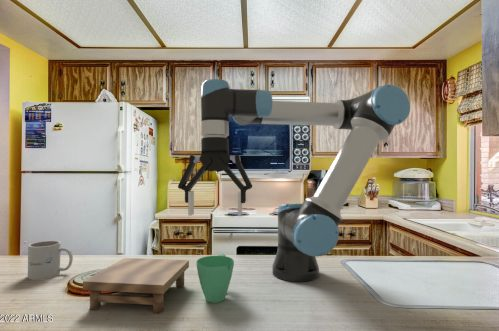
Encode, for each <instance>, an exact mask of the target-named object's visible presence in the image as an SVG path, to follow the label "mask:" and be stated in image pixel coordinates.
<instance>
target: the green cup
mask: <svg viewBox="0 0 499 331" xmlns="http://www.w3.org/2000/svg"><path fill="white" fill-rule="evenodd" d="M234 263H235V260H234V259H233V258H232V257H230V256H227V255H226V254H224V253H220V254H218V255H208V256H203V257H201V258H198V259H197V260H196V271H197V276H198V281H199V283H200V288H201V291H202V293H203V294H202V295H203V296H204V299H205V301H206V302H208V303H213V304H215V303H216V304H217V303H221V302H223V301H224V300H225V298H226V297H227V296H226V295H227V293H228V290H229V287H230V283H231V280H232V276H233V271H234V270H233V269H234V267H235V266H234Z"/></svg>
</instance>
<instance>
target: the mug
mask: <svg viewBox="0 0 499 331" xmlns="http://www.w3.org/2000/svg"><path fill="white" fill-rule="evenodd" d="M61 243H62V242H61V241H60V240H44V241H36V242H33V243H29V244H28V245H27V279H28V278H29V279H28V280H30V279H32V280H31V281H43V280H48V279H52V278H55V277H57V276H59V275H60V274H61V272H64V271H65V272H66V271H67V270H69V269H70V268H71V266H72V264H73V259H74V258H73V256H74V255H73V253H72V250H71V249H70V248H68V247H61V245H62V244H61ZM61 252H66V253H67V254H68V257H69V259H68V260H69V262H68V265H66V266H65V267H62V266H61ZM42 279H43V280H42Z"/></svg>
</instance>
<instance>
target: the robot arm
mask: <svg viewBox="0 0 499 331" xmlns="http://www.w3.org/2000/svg"><path fill="white" fill-rule="evenodd" d="M229 85H230V84H229V82H228V81H226V80H224V79H219V78H211V79H210V78H209V79H206V80H204V81H203V82H202V84H201V90H200V91H201V92H200V93H201V94H200V95H201V96H200V104H201V106H200V107H201V108H200V111H201V113H200V114H201V116H200V118H201V123H200V124H201V126H200V127H201V128H200V130H201V133H200V136H201V137H202V138H201V143H200V144H201V145H200V148H201V150H200V152H201V153H200V156H199V155H193V154H190V155H189V159H188V160H189V161H188V164H187V167H186V169H185V170H184V172H183V175H182V177H181V179H180V181H179V183H178V185H177V189H179V190H183V191H184V202H185V203H186V204H187V205H188V206H187V207H188V208H187V209H188V210H187V211H188V212H187V213H188V214H187V215H188V216H192V215H193V216H194V213H195V211H194V210H195V190H192V189H193V188H194V187H195V185H196V184H197V183H198V182H199V181H200V179H202V177H203V175H204V174H206V172H222V171H224V173H225V174H226V175H227V176H228V177H229V178H230V180H232V182H233V183H234V184H235V185H236V186H237V188H238V189H239V190H238V191H237V217H241V216H242V215H243V204H245V203H246V202H247V201H246V200H247V190H251V189H252V188H253V184H252V182H251V180H250V178H249V176H248V174H247V172H246V170H245V167H244V166H243V164H242V160H241V155H239V154H235V155H230V142H229V141H230V139H229V138H228V137H229V136H230V128H229V127H230V124H229V123H230V120H229V117H232V119H233V121H234V122H235V123H236V124H237V125H240V126H248V125H260V124H261V125H263V124H264V125H287V126H288V125H293V126H325V127H326V126H327V127H328V126H329V127H330V126H331V127H333V128H334V129H336V130H349V131H350V132H349V134H348V136H347V137H346V138H345V139H344V140H345V141H344V142H343V144H342V146H341V147H340V149H339V151H338V152H337V154H336V156H335V157H334V159H333V161H332V163H331V164H330V166H329V168H328V170H327V171H326V172H325V175H324V177H323V179H322V180H321V182H320V183H319V185H318V187H317V189H316V190H315V192H314V194H313V196H310V197H307V198H305V199H304V201H303V202H302V203H282V204H279V206H278V209H277V252H276V254H275V257H274V261H273V264H272V267H271V268H272V272H271V273H272V275H273V276H274V277H276V278H277V279H280V280H283V281H289V282H297V283H298V282H310V281H314V280H316V279H319V276H320V267H319V264H318V260H317V258H316V257H323V256H325V255H327V254H329V253H331V251H333V250H334V248H335V247H336V245H337V243H338V240H339V225H340V223H341V222H342V215H341V210H342V208H343V207H344V205H345V203H346V201H347V200H348V198H349V196H350V195H351V193H352V191H353V190H354V187H355V185H356V184H357V183H358V181H359V178H360V176H361V175H362V173H363V171H364V170H365V168H366V167H367V164H368V162H369V160H370V159H371V157H372V155H373V154H374V152H375V151H376V149H377V147H378V145H379V143H380V142H381V141H384V140H387V139H389V137H390V135H391V133H392V132H393V130H394V128H395V126H396V125H400V124H402V123H403V122H405V121H406V120H407V118H408V117H409V116H410V112H411V102H410V101H409V96H408V94H407V93H406V91H404V89H403V88H401V87H399V86H397V85H394V84H384V85H379V86H377V87H375V88H374V89H373V90H371V91H368V92H366V93H363V94H361V95H360V96H356V97H354V98H349V99H337V100H335V102H315V101H314V102H313V101H312V102H311V101H289V100H288V101H287V100H283V101H282V100H273V95H272V93H271V91H270V90H264V89H259V88H258V89H239V88H237V89H236V88H230V86H229ZM231 161H232V163H233V164H235V165H236V168H237V170H238V172H239V174H240V176H241V178H242V180H243V181H244V183H242V181H241V180H240V179H239V178H238V176H237V175H236V174H235V172H234V171H233V170H232V169H231V168H230V166H229V164H230V162H231ZM198 162H200V163H201V164H202V165H201V166H200V168H199V170H198V171H197V172H196V173H195V175H194V176H193V177H192V178H191V175H192V173H193V171H194V169H195V166H196V164H198ZM190 178H191V179H190ZM189 179H190V181H189ZM244 184H245V185H244Z"/></svg>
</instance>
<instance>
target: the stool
mask: <svg viewBox="0 0 499 331" xmlns="http://www.w3.org/2000/svg"><path fill="white" fill-rule="evenodd" d="M189 267H190V260H187V259H165V258H163V259H162V258H142V257H141V258H139V257H136V258H135V257H134V258H133V257H124V258H122V259H120V260H118V261H117V262H115V263H113V264H112V265H110V266H108V267H106V268H104V269H102V270H100V271H99V272H97V273H95V274H94V275H92V276H90V277H88V278H87V279H85V280H82V290H84V291H89V310H92V311H93V310H99V309H101V306H102V305H101V303H111V304H116V303H117V304H134V305H150V306H151V305H152V313H153V314H161V313H163V312H164V296H165V293H166V292H167V291H168V290H169V289H170V287H172V286H173V284H174V283H175V288H178V289H179V288H180V289H182V288H184V287H185V272H186V270H188V269H189ZM102 291H103V292H104V293H102ZM105 292H116V293H105ZM117 292H122V293H139V294H122V293H121V294H120V293H117ZM141 294H144V295H141ZM145 294H152V295H145Z"/></svg>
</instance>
